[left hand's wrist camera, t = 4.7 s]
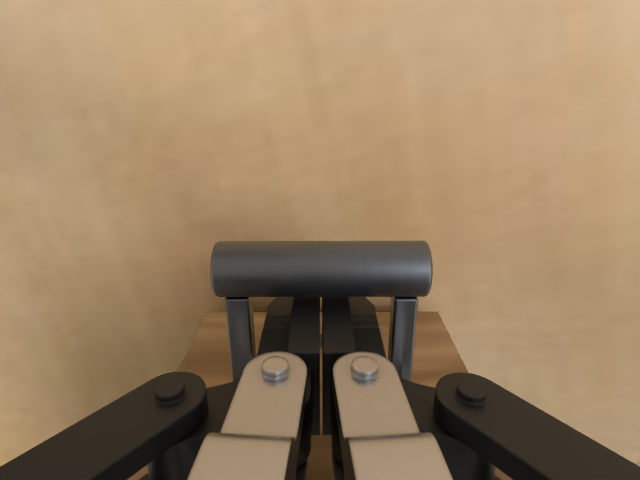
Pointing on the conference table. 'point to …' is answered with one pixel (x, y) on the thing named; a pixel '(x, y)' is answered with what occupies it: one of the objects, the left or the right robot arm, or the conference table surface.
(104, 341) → the conference table surface
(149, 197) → the conference table surface
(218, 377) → the drawer
